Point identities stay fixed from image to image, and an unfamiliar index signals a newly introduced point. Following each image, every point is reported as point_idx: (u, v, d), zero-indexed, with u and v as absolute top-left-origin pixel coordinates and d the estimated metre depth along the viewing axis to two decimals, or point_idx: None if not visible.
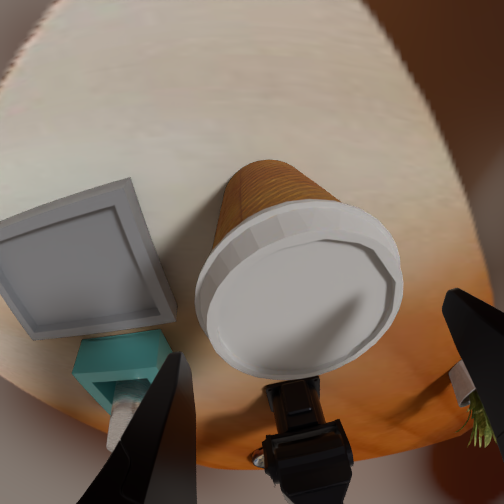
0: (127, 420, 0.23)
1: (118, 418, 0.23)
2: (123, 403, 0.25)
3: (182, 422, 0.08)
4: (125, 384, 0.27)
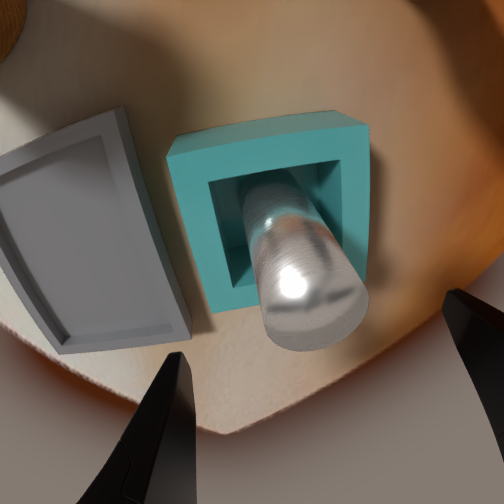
0: (257, 263, 0.12)
1: (255, 281, 0.12)
2: (249, 251, 0.14)
3: (182, 422, 0.08)
4: None
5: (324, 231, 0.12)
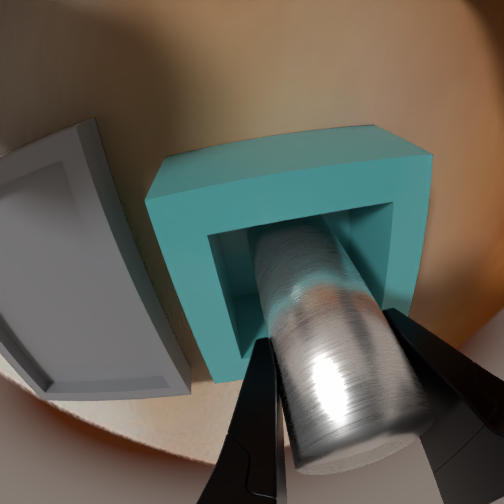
0: (282, 369, 0.08)
1: None
2: (268, 336, 0.09)
3: (280, 408, 0.08)
4: None
5: (379, 322, 0.08)
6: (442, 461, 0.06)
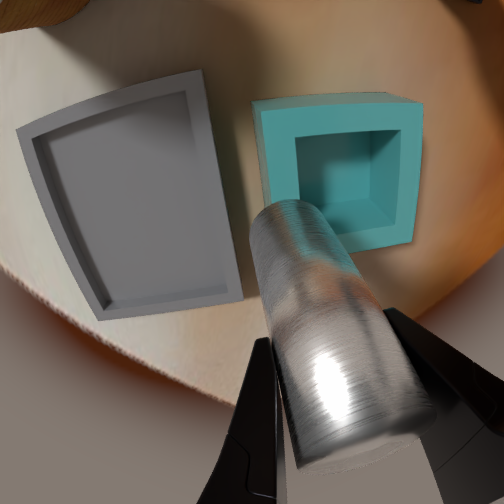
0: (284, 369, 0.08)
1: None
2: (269, 335, 0.10)
3: (280, 408, 0.08)
4: (260, 292, 0.11)
5: (381, 322, 0.08)
6: (442, 461, 0.06)
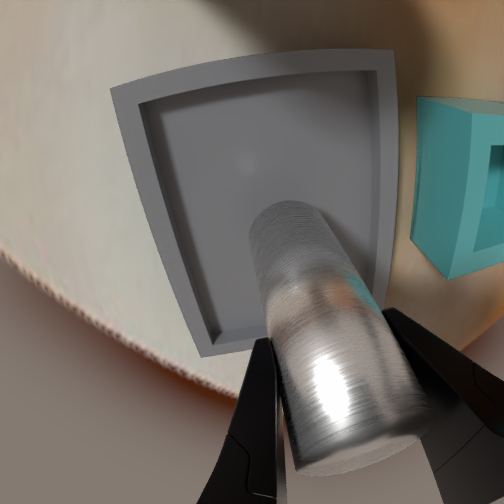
0: (283, 371, 0.08)
1: None
2: None
3: (280, 408, 0.08)
4: (259, 294, 0.11)
5: (380, 324, 0.08)
6: (442, 461, 0.06)
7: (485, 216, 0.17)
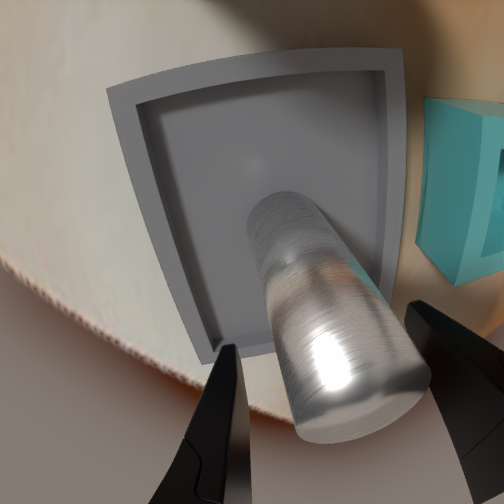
0: (280, 334, 0.08)
1: None
2: (266, 310, 0.10)
3: (242, 415, 0.08)
4: (257, 274, 0.12)
5: (371, 288, 0.08)
6: (469, 447, 0.06)
7: (491, 220, 0.16)
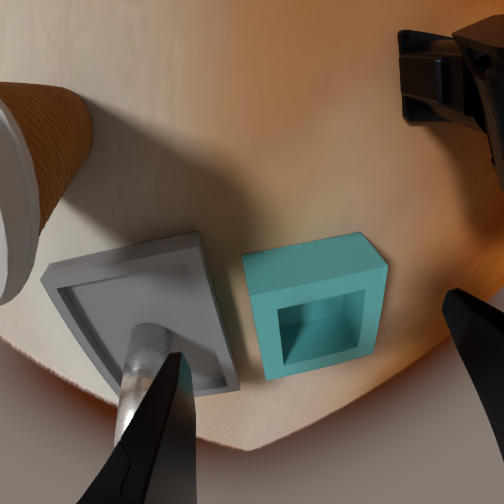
0: (117, 413, 0.18)
1: None
2: None
3: (182, 422, 0.08)
4: None
5: None
6: None
7: (322, 326, 0.26)
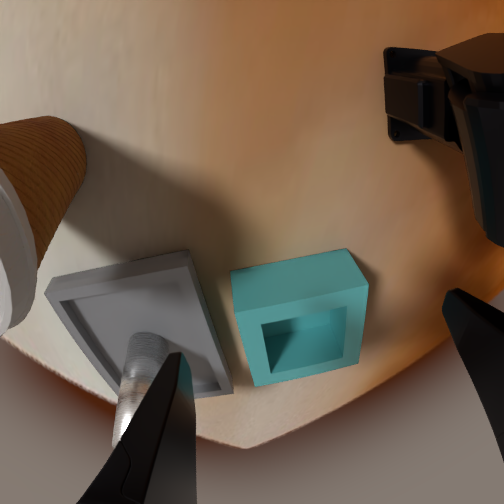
0: (115, 416, 0.19)
1: None
2: None
3: (182, 422, 0.08)
4: None
5: None
6: None
7: (310, 336, 0.27)
